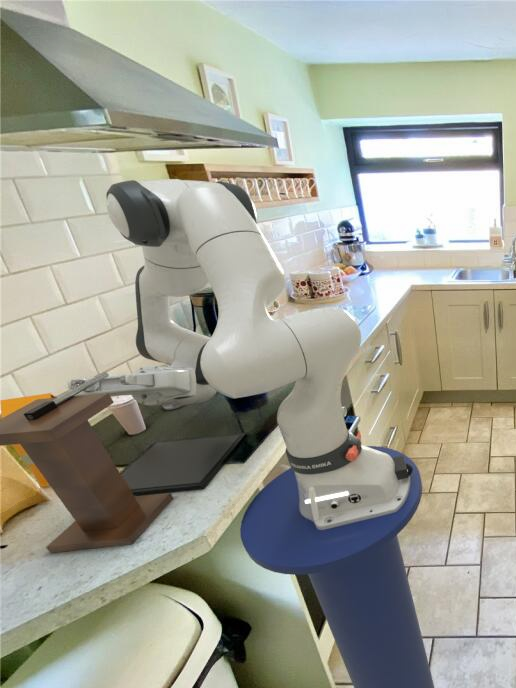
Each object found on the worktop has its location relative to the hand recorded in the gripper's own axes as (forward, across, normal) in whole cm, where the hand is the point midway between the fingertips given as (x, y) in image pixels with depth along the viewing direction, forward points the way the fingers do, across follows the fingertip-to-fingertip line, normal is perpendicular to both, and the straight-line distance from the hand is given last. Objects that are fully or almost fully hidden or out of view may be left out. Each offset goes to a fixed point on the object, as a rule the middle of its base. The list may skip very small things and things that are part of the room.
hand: (98, 381), depth 79 cm
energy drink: (-45, -18, +3) cm, 49 cm away
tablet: (-18, +1, +18) cm, 26 cm away
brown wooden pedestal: (-3, 0, +27) cm, 28 cm away
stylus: (+5, 0, +3) cm, 6 cm away
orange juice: (-19, -22, +18) cm, 34 cm away
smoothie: (-34, -20, +9) cm, 40 cm away
